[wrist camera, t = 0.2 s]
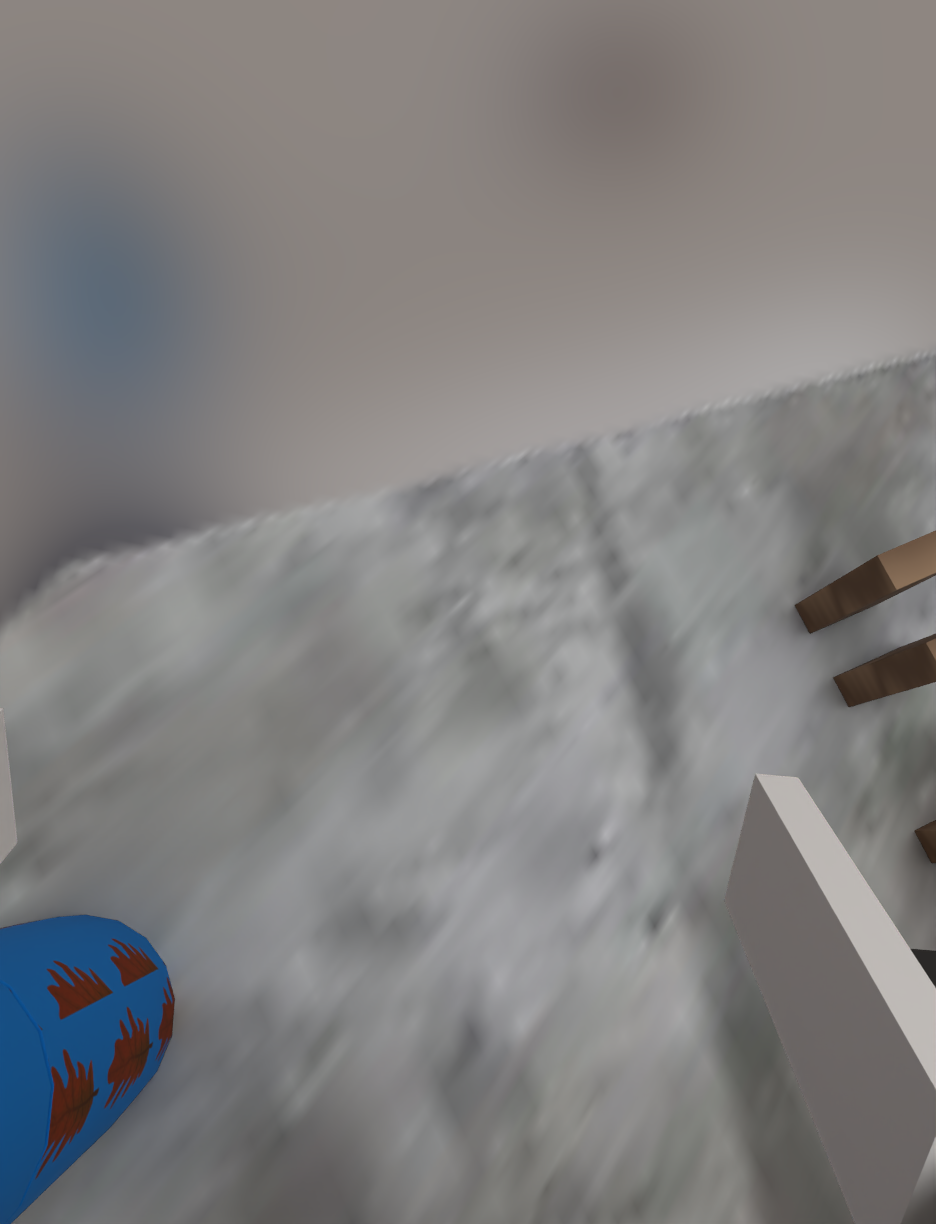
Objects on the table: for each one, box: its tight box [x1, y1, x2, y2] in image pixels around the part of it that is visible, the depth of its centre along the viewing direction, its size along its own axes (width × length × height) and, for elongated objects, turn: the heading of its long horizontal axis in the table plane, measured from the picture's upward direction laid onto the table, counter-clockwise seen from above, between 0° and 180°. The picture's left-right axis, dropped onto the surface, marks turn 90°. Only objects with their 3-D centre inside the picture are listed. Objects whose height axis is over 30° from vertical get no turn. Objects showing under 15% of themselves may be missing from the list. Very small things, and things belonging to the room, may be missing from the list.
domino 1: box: [795, 531, 936, 634], centre depth 50 cm, size 2×5×10 cm, turn 114°
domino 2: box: [833, 634, 936, 707], centre depth 49 cm, size 2×5×10 cm, turn 114°
